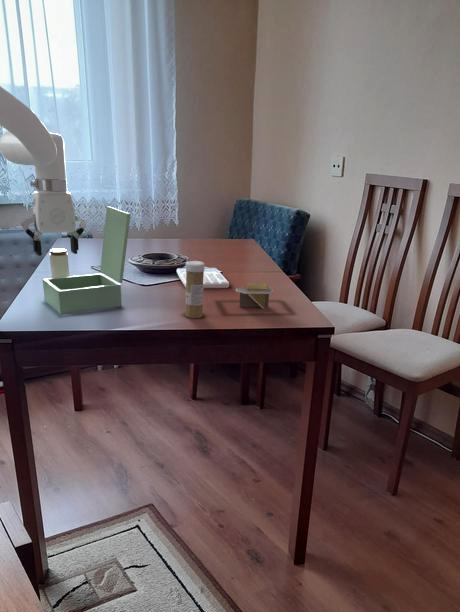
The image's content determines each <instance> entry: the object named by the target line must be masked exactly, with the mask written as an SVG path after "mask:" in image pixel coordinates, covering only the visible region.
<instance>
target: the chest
mask: <svg viewBox="0 0 460 612" xmlns="http://www.w3.org/2000/svg"><path fill="white" fill-rule="evenodd" d="M42 287H43V288H42V289H43V298H44V301H45V302H46V303H47V304H48V305H49V306H50V307H52V309H54V310H55V311H56V312H57V313H59V314H60V315H64V314H72V313H80V312H87V311H88V312H89V311H95V310H103V309H110V308H111V309H112V308H119V307H123V305H122V285H121V283H119V282H117V281H116V280H114V279H112V278H111V277H109V276H107V275H105V274H104V273H102V272H101V273H92V274H91V273H89V274H80V275H70V276H69V277H59V278H52V277H49V278H42Z"/></svg>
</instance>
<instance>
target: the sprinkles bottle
mask: <svg viewBox="0 0 460 612" xmlns="http://www.w3.org/2000/svg"><path fill="white" fill-rule="evenodd" d="M185 268H186V287H185V313H184V315H185V317H187V318H189V319H200V318H202V317H204V314H203V304H204V288H203V286H204V283H203V276H204V268H205V262H203V261H200V260H189V261H186V262H185Z"/></svg>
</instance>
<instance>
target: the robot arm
mask: <svg viewBox="0 0 460 612" xmlns="http://www.w3.org/2000/svg"><path fill="white" fill-rule="evenodd" d="M0 127H2V128H3V129H5V130H6V132H4V133H3V134H2V135H1V136H0V154H1V155H2V157H3V158H5V160H6V161H8V162H10V163H13V164H16V165H23V166H32V167H33V166H34V176H35V178H34V180H30V183H29V184H30V187H31V188H35V189H36V190H34V191H33V200H32V201H33V203H32V215H30V216H29V217H26V218H25V219H23V220H22V221H20V223H19V224H20V227H22V230H24V233H25V234H26V235H27V236H28V237H30V238H31V239H32V246H33V252H34V253H35V255H37V256H39V257H41V256H42V255H43V253H42V242H41V240H40V237H41V236H42V234H63V233H65V234H66V233H67V234H68V233H69V235H71V236H70V239H69V241H70V243H69V244H70V252H71V253H72V254H74V255H78V251H79V250H80V249H79V239H80V237H81V235H82V234H83V233H84V232H85V229H86V226H87V224H88V222H87V220H85V219H83V218H81V217H79V216H77V215H76V214H75V208H74V207H75V206H74V201H73V197H72V193H71V192H69V191H68V185H67V184H68V182H67V168H66V167H67V166H66V154H65V153H66V152H65V150H66V149H65V139H64V137H63V135H61V134H59V133H53V132H50V131H49V130H48V128H47V127H46V126H45V124H44V123H43V122H42V121H41V119H40V118H39V117H38V115H37V114H36V113H35V112H34V111H33V110H32V109H30V108H29V107H28V106H27V105H26V104H25V103H23V102H22V101H21V100H19V98H17V97H16V96H14V95H13V94H11V93H10V92H9V91H8V90H6V89H5V88H4V87H2V86H1V85H0ZM32 223H33V227H34V230H33V231H32V230H31V229H30V227H29V225H30V224H32ZM77 223H78V224H79V226H78V227H77Z"/></svg>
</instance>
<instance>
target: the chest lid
mask: <svg viewBox="0 0 460 612" xmlns="http://www.w3.org/2000/svg"><path fill="white" fill-rule="evenodd" d="M104 221H105V222H104V231H103V241H102V250H101V260H100V269H99V272H101V273H102V274H103V275H105V276H107V277H108V278H110V279H112V280H113V281H115V282H117V283H118V284H122V283H123V280H124V272H125V265H126V264H125V262H126V255H127V247H128V238H129V230H130V222H131V213H130V212H126V211H123V210H120V209H118V208H115V207H112V206H108V205H107V206H106V213H105V220H104Z"/></svg>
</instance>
